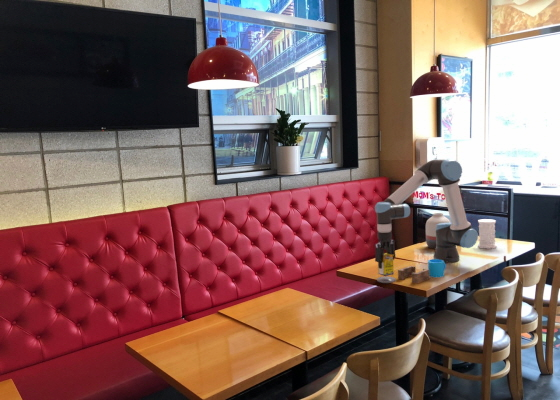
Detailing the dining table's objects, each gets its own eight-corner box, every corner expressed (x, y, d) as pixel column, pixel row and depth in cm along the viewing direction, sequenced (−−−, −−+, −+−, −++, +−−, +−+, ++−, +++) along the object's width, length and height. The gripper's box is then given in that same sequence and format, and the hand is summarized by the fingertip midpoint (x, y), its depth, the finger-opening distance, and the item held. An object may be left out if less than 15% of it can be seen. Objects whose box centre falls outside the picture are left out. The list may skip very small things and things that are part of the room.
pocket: (411, 274, 250) (410, 265, 249) (429, 278, 240) (429, 269, 240) (398, 278, 244) (398, 269, 243) (416, 283, 234) (416, 274, 233)
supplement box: (385, 276, 238) (384, 256, 237) (378, 274, 243) (377, 254, 242) (394, 274, 241) (393, 254, 239) (386, 272, 246) (385, 252, 245)
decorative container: (482, 244, 309) (481, 218, 307) (499, 246, 300) (499, 219, 298) (474, 247, 301) (474, 221, 299) (492, 249, 293) (492, 222, 291)
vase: (424, 245, 317) (423, 212, 314) (448, 244, 314) (448, 211, 312) (428, 250, 300) (427, 216, 298) (454, 249, 298) (454, 215, 295)
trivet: (385, 276, 249) (385, 275, 249) (399, 280, 241) (399, 278, 241) (373, 280, 244) (373, 279, 243) (387, 284, 235) (387, 283, 235)
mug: (437, 278, 240) (437, 263, 239) (425, 275, 247) (424, 261, 246) (451, 273, 246) (451, 259, 245) (439, 271, 253) (438, 257, 252)
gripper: (390, 227, 248) (392, 267, 250) (366, 233, 237) (368, 275, 239) (401, 229, 242) (403, 270, 244) (377, 234, 231) (379, 277, 233)
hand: (385, 272), depth 242 cm, fingers closed on supplement box, 6 cm apart
